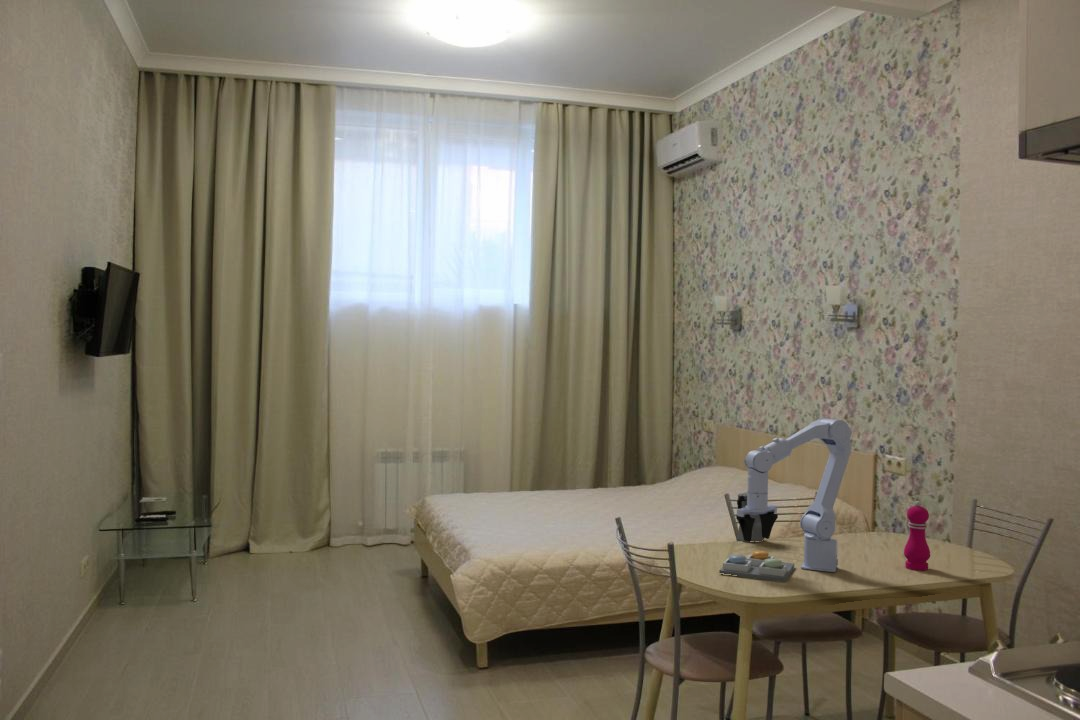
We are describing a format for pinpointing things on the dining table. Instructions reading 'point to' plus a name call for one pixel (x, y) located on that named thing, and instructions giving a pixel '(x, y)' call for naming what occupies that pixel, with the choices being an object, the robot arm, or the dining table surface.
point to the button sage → (773, 563)
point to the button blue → (737, 559)
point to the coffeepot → (757, 523)
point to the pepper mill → (917, 539)
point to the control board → (758, 569)
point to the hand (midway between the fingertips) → (756, 539)
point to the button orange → (760, 555)
